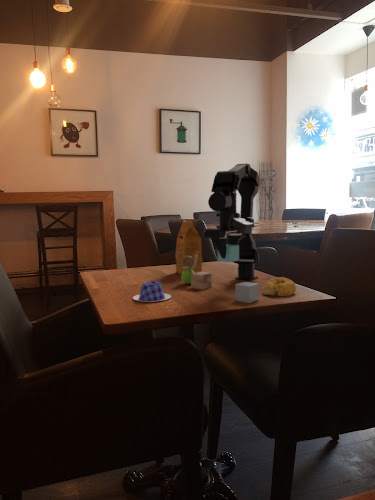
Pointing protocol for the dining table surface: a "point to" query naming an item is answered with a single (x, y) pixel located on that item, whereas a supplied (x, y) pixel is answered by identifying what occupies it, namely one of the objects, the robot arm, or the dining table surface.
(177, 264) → the coffee package
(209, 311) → the dining table surface
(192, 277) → the walnut block
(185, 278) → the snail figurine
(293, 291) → the bagel
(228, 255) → the teal block
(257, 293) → the grey cube
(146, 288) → the pudding
